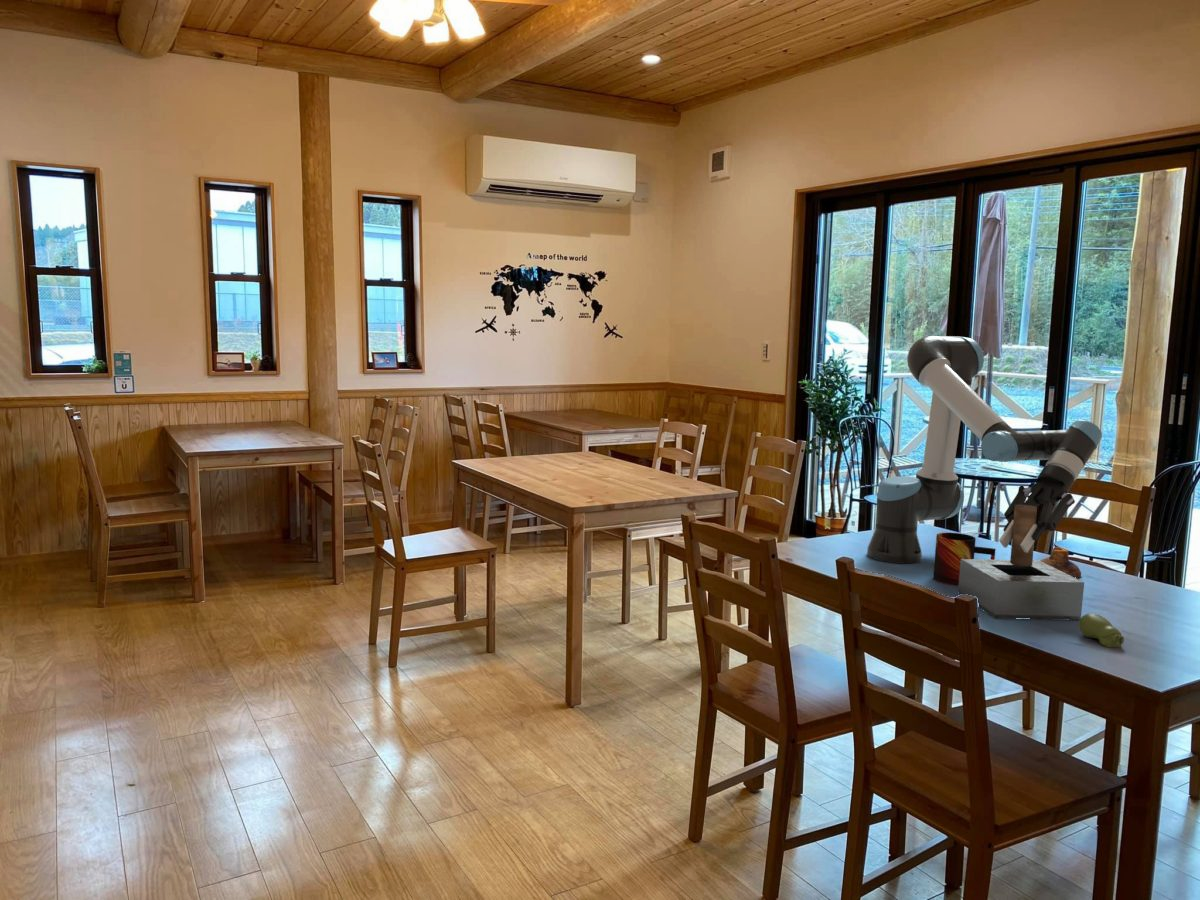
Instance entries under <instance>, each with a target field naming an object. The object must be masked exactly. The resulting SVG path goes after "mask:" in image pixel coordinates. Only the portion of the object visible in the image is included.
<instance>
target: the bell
mask: <svg viewBox="0 0 1200 900" xmlns="http://www.w3.org/2000/svg"><path fill="white" fill-rule="evenodd" d="M1069 553H1070V552H1069V549H1067V548H1063V547H1060V546H1055V547H1053V548H1052V551H1051V553H1050V555H1049V556H1048V557H1045V558H1043V559H1040V560H1039V561H1041V562H1043V563H1045V564H1047V565H1049V566H1051V567H1053V568H1056V569H1058V570H1060V571H1062V572H1064V573H1066V574H1068V575H1070V576H1072V577H1074V578H1075V577H1076V579H1078V578H1077V577H1079V578H1080V577H1082V571H1081V569H1080V568H1079V566H1078V565H1077V564H1075V563H1074V562H1073V561H1070V559H1069Z"/></svg>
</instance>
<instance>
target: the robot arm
mask: <svg viewBox="0 0 1200 900" xmlns="http://www.w3.org/2000/svg"><path fill="white" fill-rule="evenodd" d="M906 359H907V360H906V361H907V366H908V369H909V372H910V373H911V375H912V376H913V377H914V379H915V380H916V381H917V382H918V383H919V384H920V385H921V386H922V387H925V388H926V387H928V388H929V389H930V390H931V391H932V395H931V401H930V409H929V410H930V411H929V418H928V424H927V425H928V426H927V433H926V438H925V439H926V440H925V448H924V454H923V455H924V456H923V463H922V468H920V469H919V470H917V471H916V474H915V477H914V476H908V475H907V476H906V475H902V476H899V475H898V476H889V477H885V478H883V479H881V481H880V482H879V483H878V487H877V492H876V512H875V525H874V531H873V533H872V535H871V536H872V537H871V539H870V541H869V543H868V546H867V552H866V555H867V556H868V557H869V558H871V559H874V560H877V561H880V562H886V563H894V564H915V563H919V562H921V561H922V558H923V557H922V556H923V555H922V554H923V552H922V548H921V544H920V540H919V536H918V522H920V521H931V520H932V521H934V520H935V521H941V520H945V519H949V518H952V517H954V516H956V515H957V514H958V513H959V512H960V511H961V509H962V507H963V505H964V501H965V492H964V490H962V488H963V487H962V485H961V484H960V483H959V482H958V481H959V477H958V475H957V474H956V472H954V471H955V463H956V456H957V455H956V454H957V448H958V441H959V434H960V427H961V422H962V423H963V424H964V425H965V426H966V427H967V428H968V429H969V430H970V431H971V432H972V433H973V434H974V435H975V436H976V437H977V438H978V439H979V440H980V449H981V451H982V454H983V456H984V457H985V459H987V460H989V461H992V462H1000V463H1006V462H1017V461H1018V462H1019V461H1043V460H1044V461H1045V460H1047V462H1046V463H1045V466H1044V467H1043V468H1042V469H1041V471H1040V472H1039V474H1038V476H1037V479H1036V482H1035V483H1034V484H1031V486H1030V487H1025V486H1024V485H1020V486H1019V487H1018V491H1017V493H1016V495H1015V497H1014V498H1013V499H1012V501H1011V503H1010V504H1009V506H1007V509H1006V510H1005V512H1004V513H1003V516H1004V518H1005V520H1006V521H1007V523H1006V525H1005V526H1004V528H1003V530H1002V531H1003V534H1002V535H1001V537H1000V538H999V543H1000V544H1001V546H1002V548H1005V549H1007V548H1008V546H1009V545H1010V543H1011V542H1012V534H1013V522H1014V510H1015V505H1031V506H1036V507H1037V508H1038V507H1039V506H1040V505H1042V509H1041V511H1040V514H1039V515H1040V516H1039V517H1038V518H1039V519H1038V521H1036V524H1033V526H1032V527H1031V529H1030V530H1029V532H1028V533H1027V535H1026V537H1025V538H1024V540H1023V541H1022V543H1021V544H1020V545H1021V547H1022V549H1023V551H1024V552H1026V553H1028V551H1029V549H1030V548H1031V546H1032V545H1033V543H1034V544H1035V542H1038V541H1039V540H1040V539H1041V537H1042V536H1043V534H1044V532H1046V531H1050V532H1054V531H1055V530H1056V529H1057V528H1058V525H1059V524H1060V522H1061V521H1062V520H1063V517H1064V516H1065V515H1066V513H1067V511H1068V510H1069V508H1070V507H1072V505H1073V504H1075V502H1076V500H1075V498H1074V496H1073V495H1072V493H1069V491H1070V490H1071V489H1072V486H1073V485H1074V484H1075V481H1076V480H1077V479H1078V477H1079V476H1080V474H1081V472H1082V471H1083V469H1084V467H1085V465H1086V464H1087V462H1088V461H1089V460H1090V458H1091V457H1092V455H1093V454H1094V452H1095V450H1096V449H1098V446H1099V444H1100V442H1101V440H1102V437H1103V433H1102V430H1101V429H1100V427H1099V426H1098V425H1096V424H1095V423H1094V422H1092V421H1089V420H1085V419H1077V420H1075V421H1073V422H1072V423H1071V425H1069V427H1068V429H1057V430H1051V429H1050V430H1045V429H1044V430H1038V429H1037V430H1036V429H1035V430H1014V429H1013V428H1012V427H1011V425H1009V424H1008V423H1007V422H1006V421H1005V420H1003V419H1002V417H1001V416H1000V415H998V413H996V411H995V410H994V409H992V407H991V406H990V405H989V404H988V403H986V401H985V400H983V398H982V397H981V396H980V395H979V394H978V393H976V392H975V391H974V389H972V387H971V386H972V382H973V378H974V377H976V376H978V374H979V373H980V372H981V371H982V369H983V366H984V363H985V359H984V352H983V349H982V347H981V346H980V345H979V343H978V342H977V341H976V340H974V339H973V338H970V337H965V336H958V335H957V336H955V335H954V336H953V335H952V336H951V335H949V336H948V335H947V336H945V335H944V336H942V335H939V336H937V335H928V336H924V337H921V338H920V339H918V340H916V341H915V342H914V343H913V344H912V345H911V347H910V348H909V350H908V353H907V358H906ZM1056 503H1057V505H1056Z"/></svg>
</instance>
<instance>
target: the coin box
mask: <svg viewBox="0 0 1200 900" xmlns="http://www.w3.org/2000/svg"><path fill="white" fill-rule="evenodd" d="M957 587H958V588H957V591H958V592H959V594H968V595H972V596H976V597H977V598H978V603H979V609H980V610H981V609H982V610H981V611H983V610H984V611H985V612H984V611H983V612H984V613H986V612H987V613H988V614H987V613H986V614H987V615H989V616H990V617H992V618H993V619H995V620H1017V619H1016V618H1030V619H1029V620H1031V619H1069V620H1068V621H1080V619H1081V618H1082V610H1083V609H1082V608H1083V601H1084V600H1083V599H1084V590H1085V589H1084V588H1085V582H1084V581H1082V580H1081V579H1079V578H1074V577H1072V576H1070V575H1068V574H1066V573H1064V572H1062V571H1060V570H1058V569H1056V568H1053V567H1051V566H1049V565H1047V564H1045V563H1043V562H1041V561H1040V560H1036V559H1034V560H1033V562H1032V566H1017V565H1013V564H1011V563H1010V559H995V560H991V559H985V558H984V559H978V558H977V559H975V558H974V559H961V562H960V575H959V586H957ZM958 592H957V593H958ZM959 594H958V595H959Z"/></svg>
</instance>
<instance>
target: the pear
mask: <svg viewBox="0 0 1200 900" xmlns="http://www.w3.org/2000/svg"><path fill="white" fill-rule="evenodd" d="M1078 629H1079V631H1080V632H1081V634H1082V635H1083V636H1084V637H1086V638H1088V639H1098V640H1099V642H1100V645H1102V646H1104V647H1107V648H1122V645H1123V644H1124V643H1125V638H1124V636H1123V634H1122V633H1121V631H1120V629H1117V628H1116V627H1114V625H1113V624H1112V623H1111V621H1109V620H1108V619H1107V618H1106V617H1103V616H1102V615H1100V614H1096V613H1093V612H1092V613H1086V614H1084V615H1083V616H1081V619H1080V620H1078Z"/></svg>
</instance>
